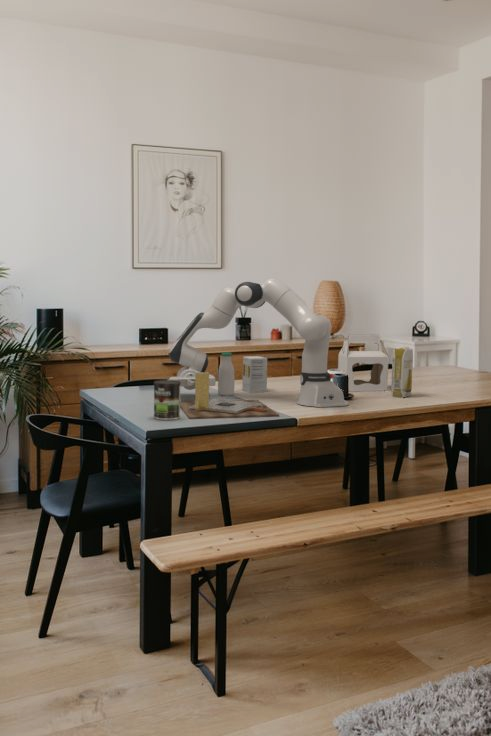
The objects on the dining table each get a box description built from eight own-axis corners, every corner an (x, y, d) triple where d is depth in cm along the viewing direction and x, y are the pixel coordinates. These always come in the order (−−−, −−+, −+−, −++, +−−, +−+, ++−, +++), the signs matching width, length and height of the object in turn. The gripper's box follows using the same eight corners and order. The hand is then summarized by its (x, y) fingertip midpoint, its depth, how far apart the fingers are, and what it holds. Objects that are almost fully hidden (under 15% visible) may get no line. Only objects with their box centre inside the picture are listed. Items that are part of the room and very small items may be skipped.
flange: (215, 400, 302) (216, 366, 301) (276, 407, 289) (276, 371, 288) (185, 409, 280) (186, 372, 279) (249, 416, 267) (250, 378, 266)
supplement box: (241, 390, 342) (242, 356, 340) (258, 389, 346) (259, 355, 344) (250, 393, 333) (250, 358, 331) (267, 392, 337) (267, 357, 335)
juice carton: (404, 398, 324) (406, 347, 321) (389, 396, 329) (391, 346, 326) (412, 396, 332) (415, 346, 329) (397, 394, 336) (399, 345, 333)
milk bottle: (237, 395, 326) (238, 353, 324) (223, 396, 322) (224, 353, 320) (228, 392, 333) (229, 351, 330) (214, 394, 328) (215, 352, 326)
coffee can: (173, 421, 262) (173, 384, 260) (149, 418, 265) (149, 382, 264) (185, 416, 271) (185, 380, 270) (161, 414, 275) (161, 379, 273)
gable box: (377, 387, 360) (379, 333, 357) (387, 391, 347) (389, 335, 344) (336, 387, 355) (338, 333, 352) (345, 391, 343) (347, 335, 339)
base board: (257, 401, 309) (257, 394, 309) (279, 416, 274) (279, 409, 274) (177, 403, 301) (177, 396, 301) (189, 419, 266) (189, 411, 266)
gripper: (166, 373, 306) (170, 377, 293) (212, 372, 311) (217, 375, 298) (166, 387, 307) (170, 391, 294) (212, 385, 312) (217, 390, 298)
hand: (194, 383), depth 296 cm, fingers closed
